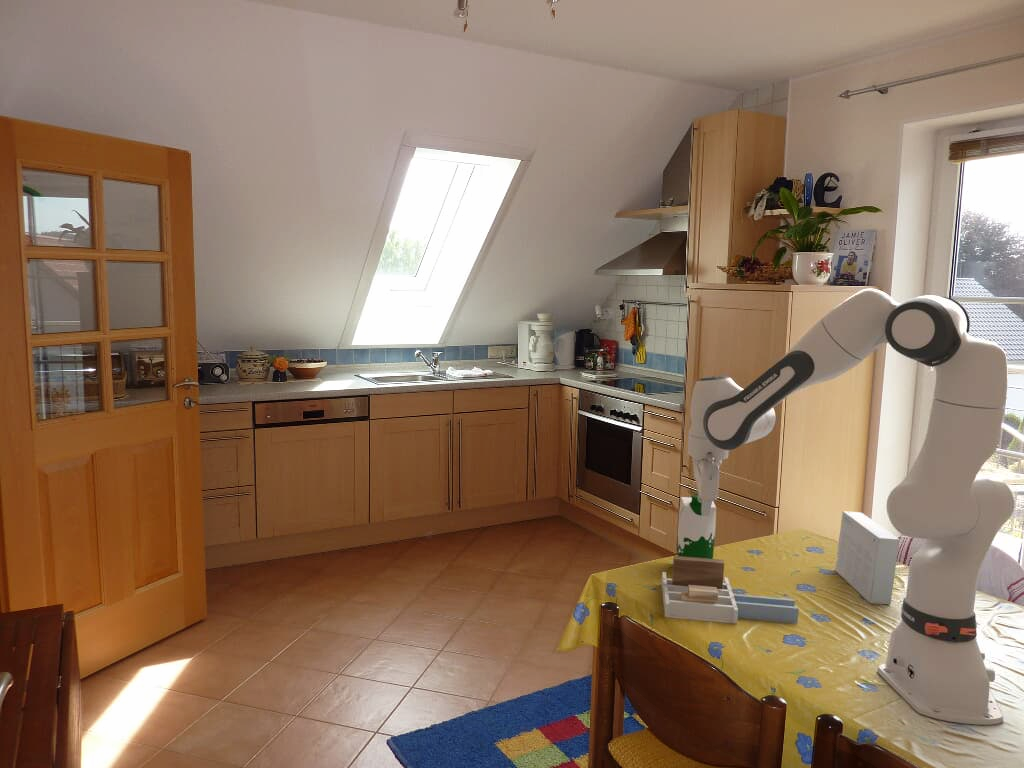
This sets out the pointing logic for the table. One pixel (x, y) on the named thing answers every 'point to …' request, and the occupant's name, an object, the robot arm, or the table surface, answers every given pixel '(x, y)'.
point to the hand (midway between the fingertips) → (703, 508)
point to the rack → (699, 604)
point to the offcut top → (703, 592)
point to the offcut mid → (686, 598)
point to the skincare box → (867, 557)
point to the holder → (766, 608)
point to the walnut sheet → (697, 572)
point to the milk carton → (695, 529)
